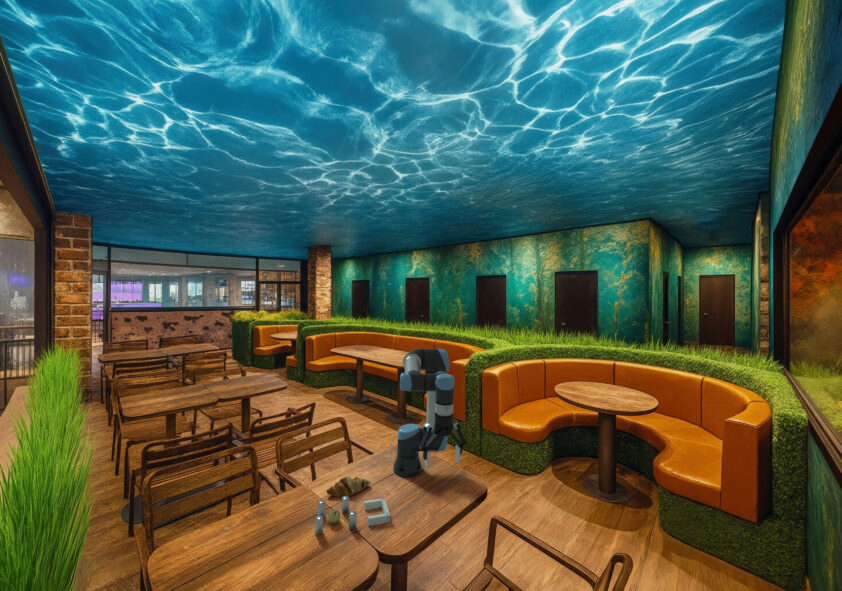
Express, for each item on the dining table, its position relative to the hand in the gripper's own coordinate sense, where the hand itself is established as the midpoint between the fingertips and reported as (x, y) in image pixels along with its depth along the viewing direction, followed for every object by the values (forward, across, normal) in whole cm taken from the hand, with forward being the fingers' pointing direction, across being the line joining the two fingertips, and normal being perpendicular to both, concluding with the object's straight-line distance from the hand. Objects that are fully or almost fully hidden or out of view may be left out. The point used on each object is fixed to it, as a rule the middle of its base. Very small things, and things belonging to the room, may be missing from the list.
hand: (442, 464), depth 141 cm
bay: (+26, -23, +14) cm, 38 cm away
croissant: (+26, -32, +35) cm, 55 cm away
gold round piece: (+26, -41, +15) cm, 51 cm away
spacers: (+26, -41, +15) cm, 51 cm away
